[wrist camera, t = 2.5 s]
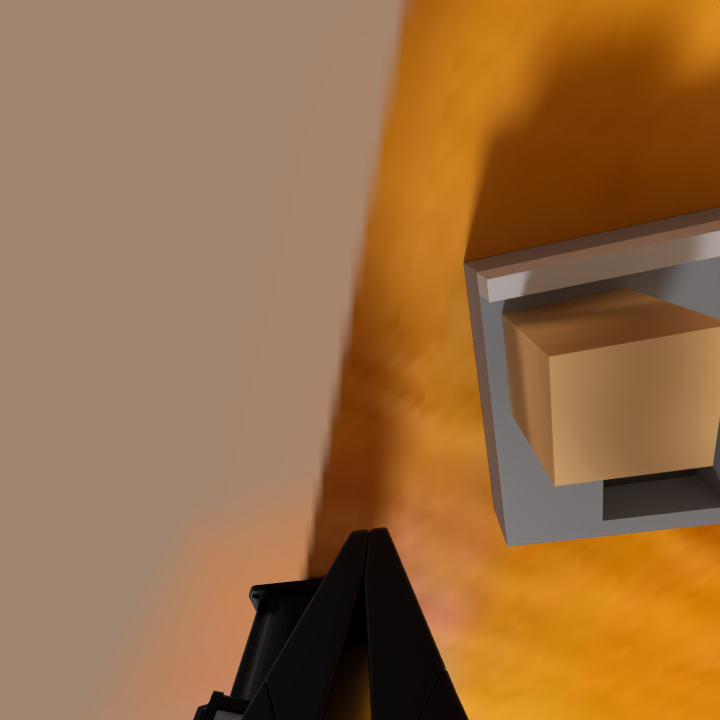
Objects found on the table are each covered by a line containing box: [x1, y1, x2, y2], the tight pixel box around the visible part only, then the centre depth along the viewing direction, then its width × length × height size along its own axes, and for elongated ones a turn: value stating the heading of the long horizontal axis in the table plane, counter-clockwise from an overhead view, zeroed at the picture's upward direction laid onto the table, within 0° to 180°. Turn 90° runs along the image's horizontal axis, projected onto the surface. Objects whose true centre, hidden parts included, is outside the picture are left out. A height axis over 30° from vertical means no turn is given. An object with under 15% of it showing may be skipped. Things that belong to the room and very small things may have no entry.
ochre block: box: [502, 288, 720, 486], centre depth 13 cm, size 4×4×4 cm
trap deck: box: [464, 207, 720, 547], centre depth 15 cm, size 18×14×4 cm
